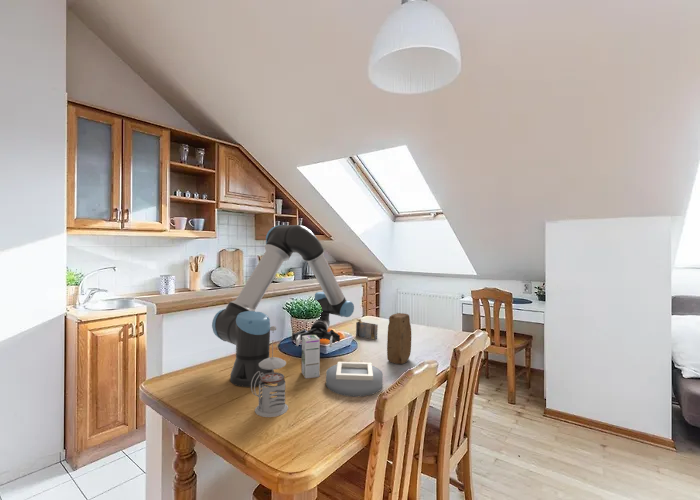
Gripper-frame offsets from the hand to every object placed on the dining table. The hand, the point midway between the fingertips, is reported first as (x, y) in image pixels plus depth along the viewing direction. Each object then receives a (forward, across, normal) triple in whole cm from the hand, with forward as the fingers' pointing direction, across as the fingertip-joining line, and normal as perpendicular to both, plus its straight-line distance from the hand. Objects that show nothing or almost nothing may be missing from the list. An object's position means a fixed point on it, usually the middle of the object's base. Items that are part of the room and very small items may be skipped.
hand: (313, 343), depth 139 cm
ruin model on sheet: (-43, -23, -10) cm, 49 cm away
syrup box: (+10, 0, -9) cm, 13 cm away
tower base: (+16, -16, -9) cm, 25 cm away
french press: (+37, +9, -9) cm, 39 cm away
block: (-8, -36, -9) cm, 38 cm away
